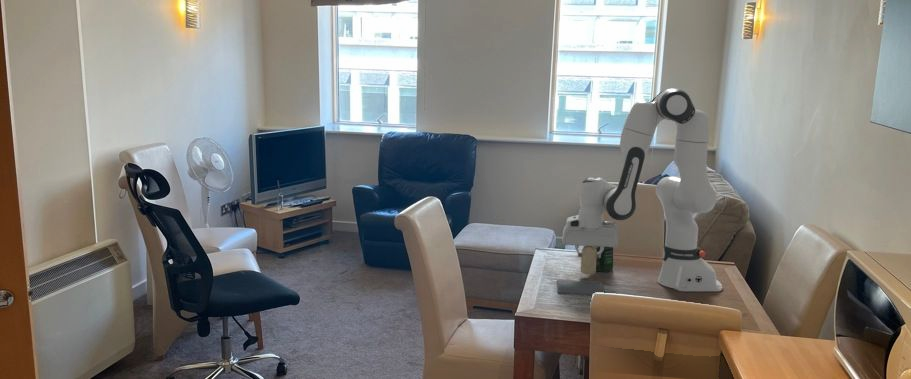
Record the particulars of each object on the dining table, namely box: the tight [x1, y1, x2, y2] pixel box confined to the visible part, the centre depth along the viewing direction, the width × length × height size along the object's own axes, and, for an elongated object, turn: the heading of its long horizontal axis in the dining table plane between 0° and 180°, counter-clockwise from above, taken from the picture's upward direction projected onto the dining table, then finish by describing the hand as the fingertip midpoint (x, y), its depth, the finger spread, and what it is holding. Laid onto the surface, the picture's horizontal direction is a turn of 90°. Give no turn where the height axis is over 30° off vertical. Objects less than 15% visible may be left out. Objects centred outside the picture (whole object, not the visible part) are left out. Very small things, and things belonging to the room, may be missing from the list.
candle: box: [580, 246, 597, 275], centre depth 259 cm, size 6×6×10 cm
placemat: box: [556, 279, 605, 297], centre depth 248 cm, size 16×14×1 cm
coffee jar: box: [592, 224, 614, 273], centre depth 270 cm, size 10×8×19 cm
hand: (588, 257), depth 258 cm, fingers closed on candle, 5 cm apart
